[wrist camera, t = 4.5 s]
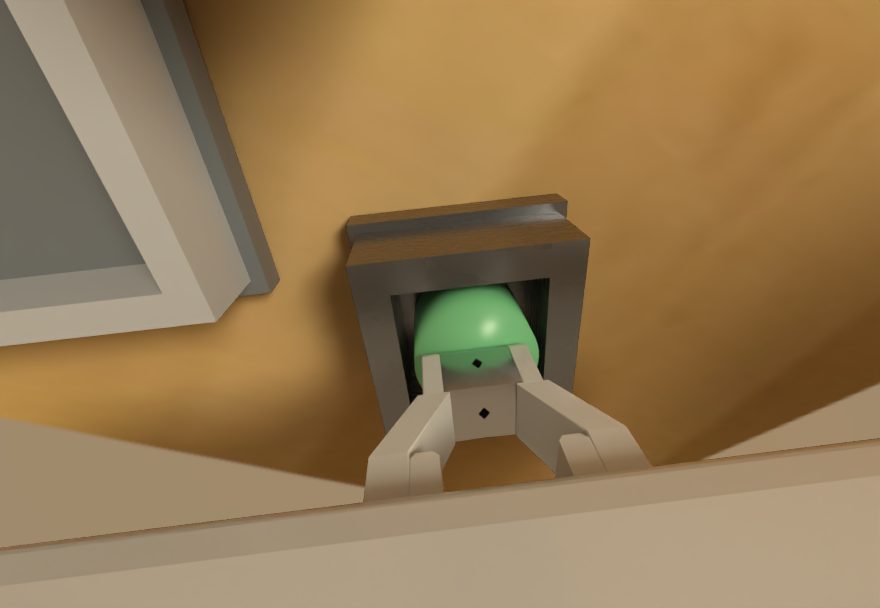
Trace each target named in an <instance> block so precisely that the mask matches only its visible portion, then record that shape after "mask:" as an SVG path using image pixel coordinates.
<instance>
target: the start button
mask: <svg viewBox="0 0 880 608" xmlns="http://www.w3.org/2000/svg"><path fill="white" fill-rule="evenodd" d="M520 343H525V344H526V345H527V347H528V349H529V351H530V353H531V355H532V357H533V360H534V362H535V364H536V366H537V365H538V359H539V349H538V344H537V341H536V339H535V336H534V334H533V332H532V330H531V328H530V326H529V324H528V322H527V320H526V318H525V316H524V314H523V312H522V311H521V309H520V307H519V305H518V303H517V301H516V299H515V297H514V295H513V293H512V291H511V290H510V288H509V287H508V286H507V285H506V284H505V283H497V284H488V285H479V286H470V287H461V288H453V289H444V290H435V291H426V292H423V293H422V295H421V296H420V298H419V300H418V302H417V304H416V308H415V312H414V365H415V373H416V377H417V379H418V381H419V383H420V385H421V387H422V364H421V358H422V355H429V354H439V355H440V353H447V352H457V351H467V350H479V349H487V348H495V347H503V346H507V345H513V344H520ZM440 363H441V361H440ZM441 371H442V370H441Z"/></svg>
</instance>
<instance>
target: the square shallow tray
mask: <svg viewBox="0 0 880 608" xmlns="http://www.w3.org/2000/svg"><path fill="white" fill-rule="evenodd" d="M279 280H280V279H279V276H278V273H277V270H276V267H275V264H274V261H273V258H272V255H271V253H270V250H269V247H268V244H267V241H266V238H265V235H264V232H263V230H262V227H261V224H260V221H259V218H258V215H257V212H256V209H255V207H254V204H253V201H252V198H251V195H250V192H249V189H248V186H247V184H246V181H245V178H244V175H243V172H242V169H241V166H240V163H239V161H238V158H237V155H236V152H235V149H234V146H233V143H232V140H231V138H230V135H229V132H228V129H227V126H226V123H225V120H224V117H223V115H222V112H221V109H220V106H219V103H218V100H217V97H216V94H215V92H214V89H213V86H212V83H211V80H210V77H209V74H208V71H207V69H206V66H205V63H204V60H203V57H202V54H201V51H200V48H199V46H198V43H197V40H196V37H195V34H194V31H193V28H192V25H191V23H190V20H189V17H188V14H187V11H186V8H185V5H184V2H183V0H0V346H8V345H17V344H26V343H35V342H43V341H52V340H61V339H70V338H79V337H87V336H96V335H105V334H114V333H123V332H131V331H140V330H149V329H158V328H167V327H175V326H184V325H193V324H202V323H210V322H217V320H218V319H219V318H220V317H221V316H222V315H223V313H224V312H225V311H226V310H227V309H228V308H229V306H230V305H231V304H232V303H233V302H234V300H235V299H236V298H237V297H238V296H246V295H255V294H263V293H271V292H272V290H273V289H274V287H275V286H276V285H277V283H278V282H279Z"/></svg>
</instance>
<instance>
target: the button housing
mask: <svg viewBox="0 0 880 608" xmlns="http://www.w3.org/2000/svg"><path fill="white" fill-rule="evenodd" d="M567 203H568V201H567V200H565V199H564V198H562V197H561V196H560V195H558V194H548V195H539V196H530V197H521V198H512V199H503V200H494V201H485V202H476V203H467V204H458V205H449V206H440V207H431V208H422V209H413V210H404V211H395V212H386V213H377V214H368V215H359V216H351V217H350V219H349V221H348V223H347V225H346V228H347V233H348V237H349V241H350V246H351V252H350V255H349V258H348V260H347V263H346V265H345V268H346V272H347V276H348V280H349V284H350V288H351V292H352V296H353V300H354V305H355V309H356V313H357V317H358V321H359V325H360V329H361V333H362V337H363V342H364V346H365V350H366V354H367V358H368V362H369V366H370V370H371V374H372V379H373V383H374V387H375V391H376V395H377V399H378V403H379V407H380V411H381V416H382V420H383V424H384V428H385V432H386V435H387V433H388V432H389V431H390V430H391V428H392V427H393V426H394V425H395V423H396V422H397V421H398V420H399V418H400V417H401V416H402V415H403V413H404V412H405V411H406V409H407V408H408V407H409V406H410V404H411V403H412V402H413V401H414V399H415V398H416V397H417V396H418V395H423V388H422V387H421V385H420V383H419V381H418V379H417V377H416V373H415V365H414V312H415V308H416V304H417V302H418V300H419V298H420V296H421V295H422V293H423V292H426V291H435V290H444V289H453V288H461V287H470V286H479V285H488V284H497V283H505V284H506V285H507V286H508V287H509V288H510V290H511V291H512V293H513V295H514V297H515V299H516V301H517V303H518V305H519V307H520V309H521V311H522V312H523V314H524V316H525V318H526V320H527V322H528V324H529V326H530V328H531V330H532V332H533V334H534V336H535V339H536V341H537V344H538V349H539V359H538V365H537V368H538V370H539V372H540V374H541V377H542V379H543V380H550V381H552V382H553V383H555V384H557V385H558V386H560V387H562V388H563V389H565V390H567V391H568V392H570V393H572V390H573V381H574V373H575V365H576V356H577V348H578V339H579V331H580V322H581V314H582V305H583V297H584V289H585V280H586V272H587V263H588V255H589V246H590V238H589V237H588V236H587V235H585V234H584V233H583V232H582V231H581V230H579V229H578V228H577V227H576V226H574V225H573V224H572V223H571V222H570V221H568V220H567V219H566V215H567Z"/></svg>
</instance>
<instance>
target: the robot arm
mask: <svg viewBox="0 0 880 608" xmlns="http://www.w3.org/2000/svg"><path fill="white" fill-rule="evenodd" d="M440 361H441V363H440ZM421 364H422V388H423V395H418V396H417V397H416V398H415V399H414V401H413V402H412V403H411V404H410V406H409V407H408V408H407V409H406V411H405V412H404V413H403V415H402V416H401V417H400V418H399V420H398V421H397V422H396V423H395V425H394V426H393V427H392V428H391V430H390V431H389V432H388V433H387V435H386V436H385V437H384V439H383V440H382V441H381V442H380V444H379V445H378V446H377V447H376V449H375V450H374V451H373V452H372V454H371V455H370V456H369V458H368V467H367V475H366V483H365V492H364V501H363V503H355V504H347V505H339V506H331V507H323V508H315V509H308V510H300V511H291V512H283V513H275V514H267V515H260V516H251V517H243V518H235V519H227V520H219V521H211V522H203V523H195V524H187V525H178V526H171V527H162V528H154V529H146V530H139V531H131V532H124V533H123V532H122V533H114V534H106V535H98V536H91V537H82V538H74V539H66V540H59V541H50V542H42V543H35V544H27V545H19V546H10V547H2V548H0V608H880V438H877V439H870V440H861V441H853V442H845V443H838V444H829V445H821V446H813V447H805V448H797V449H789V450H781V451H773V452H765V453H757V454H749V455H741V456H733V457H725V458H717V459H709V460H701V461H693V462H685V463H677V464H669V465H661V466H653V467H652V465H651V464H650V462H649V461H648V459H647V458H646V456H645V454H644V453H643V451H642V450H641V448H640V447H639V445H638V444H637V442H636V441H635V439H634V437H633V436H632V434H631V433H630V431H629V430H628V428H627V427H626V426H625V425H623V424H622V423H620V422H618V421H617V420H615V419H613V418H612V417H610V416H608V415H607V414H605V413H603V412H602V411H600V410H598V409H597V408H595V407H593V406H592V405H590V404H588V403H587V402H585V401H583V400H582V399H580V398H578V397H577V396H575V395H573V394H572V393H570V392H568V391H567V390H565V389H563V388H562V387H560V386H558V385H557V384H555V383H553V382H552V381H550V380H543V379H542V377H541V374H540V372H539V370H538V368H537V366H536V364H535V362H534V360H533V357H532V355H531V353H530V351H529V349H528V347H527V345H526V344H525V343H520V344H513V345H507V346H503V347H495V348H487V349H479V350H467V351H457V352H447V353H440V355H439V354H429V355H422V358H421ZM441 370H442V371H441ZM515 434H516V436H517V437H518V438H519V439H520V440H521V441H522V442H523V443H524V444H525V445H526V446H527V447H528V448H529V449H530V450H531V451H532V452H533V453H534V454H535V455H536V456H537V457H539V458H540V459H541V460H542V461H543V462H544V463H545V464H546V465H547V466H548V467H549V468H550V469H551V470H552V471H553V472H554V473H555V474H556V476H555V479H548V480H540V481H532V482H524V483H516V484H508V485H499V486H491V487H483V488H475V489H467V490H459V491H451V492H445V491H444V484H443V476H442V470H443V468H444V466H445V464H446V462H447V460H448V458H449V456H450V454H451V452H452V450H453V448H454V446H455V442H457V441H464V440H471V439H477V438H484V437H494V436H504V435H515Z"/></svg>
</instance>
